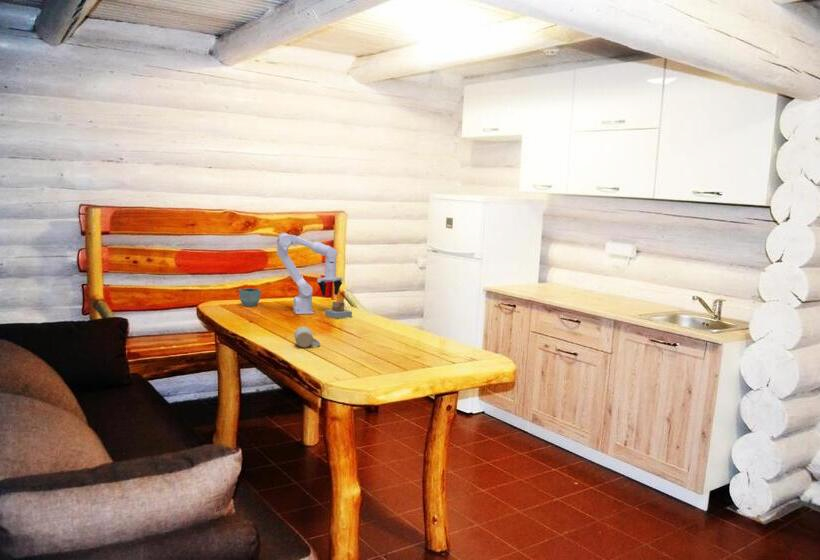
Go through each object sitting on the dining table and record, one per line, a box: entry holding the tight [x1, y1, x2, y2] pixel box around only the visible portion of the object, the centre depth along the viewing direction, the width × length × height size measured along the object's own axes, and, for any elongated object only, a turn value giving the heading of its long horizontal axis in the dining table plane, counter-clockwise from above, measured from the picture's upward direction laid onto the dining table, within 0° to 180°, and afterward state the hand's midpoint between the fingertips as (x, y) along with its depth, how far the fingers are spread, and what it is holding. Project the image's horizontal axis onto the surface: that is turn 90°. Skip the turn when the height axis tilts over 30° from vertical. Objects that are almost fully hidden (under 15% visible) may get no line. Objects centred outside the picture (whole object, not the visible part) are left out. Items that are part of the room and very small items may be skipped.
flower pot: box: [238, 287, 262, 308], centre depth 376 cm, size 9×9×9 cm
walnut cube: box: [331, 301, 346, 312], centre depth 355 cm, size 4×4×4 cm
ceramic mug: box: [294, 326, 321, 349], centre depth 288 cm, size 11×8×8 cm
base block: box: [324, 308, 353, 320], centre depth 355 cm, size 10×10×3 cm
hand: (329, 294), depth 365 cm, fingers open, 7 cm apart
